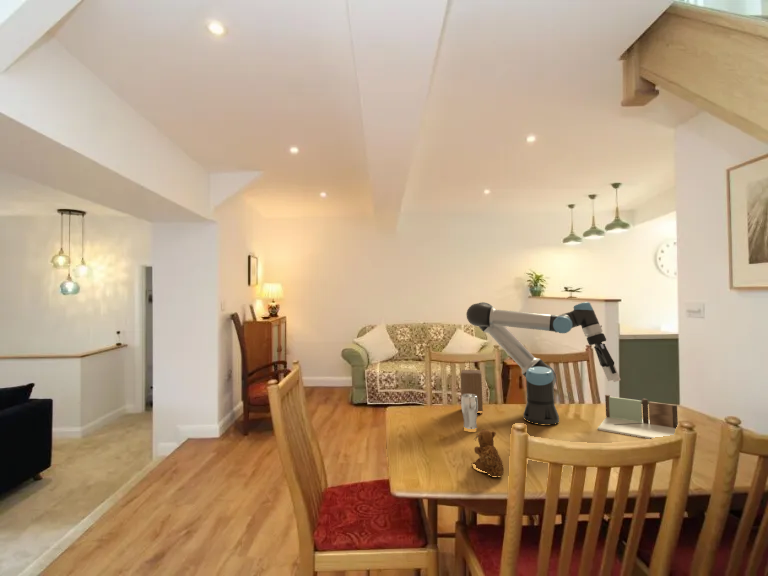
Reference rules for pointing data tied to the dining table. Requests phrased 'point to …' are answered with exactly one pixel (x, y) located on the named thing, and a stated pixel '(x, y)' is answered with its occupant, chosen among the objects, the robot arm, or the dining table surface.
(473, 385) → the wooden block
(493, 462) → the brown plush animal
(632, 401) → the green fence panel
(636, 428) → the card
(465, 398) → the beer glass
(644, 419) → the fixed fence
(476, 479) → the dining table surface
